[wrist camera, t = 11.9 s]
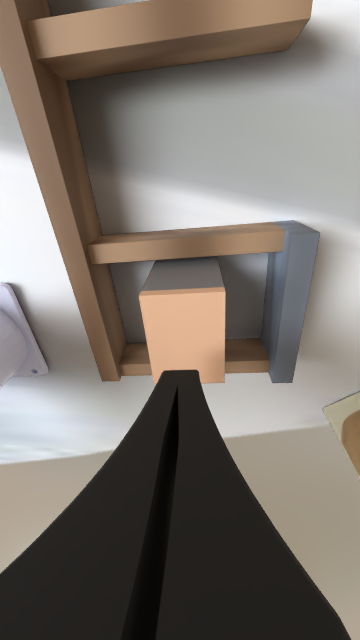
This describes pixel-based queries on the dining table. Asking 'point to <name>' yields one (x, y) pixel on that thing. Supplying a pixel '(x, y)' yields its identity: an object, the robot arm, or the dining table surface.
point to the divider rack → (72, 178)
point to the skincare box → (347, 427)
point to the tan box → (185, 317)
